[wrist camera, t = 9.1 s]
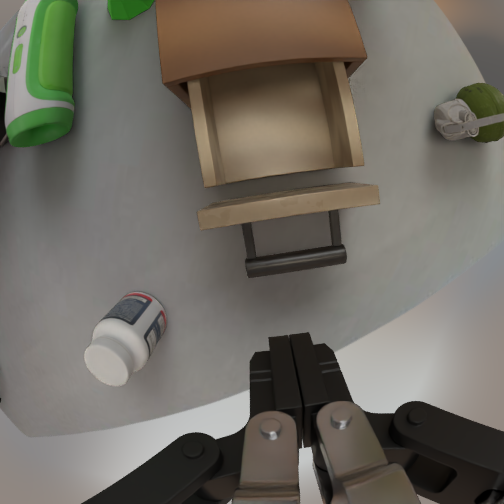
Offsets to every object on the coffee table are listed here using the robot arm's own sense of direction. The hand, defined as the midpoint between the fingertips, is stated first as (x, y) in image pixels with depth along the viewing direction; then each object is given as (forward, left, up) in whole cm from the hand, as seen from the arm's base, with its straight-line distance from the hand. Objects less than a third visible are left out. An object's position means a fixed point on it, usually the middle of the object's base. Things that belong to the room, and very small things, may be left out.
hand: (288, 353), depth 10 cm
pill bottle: (-14, -4, -15) cm, 21 cm away
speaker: (-18, +24, -15) cm, 33 cm away
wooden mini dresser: (+1, +21, -15) cm, 25 cm away
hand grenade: (+26, +12, -11) cm, 30 cm away
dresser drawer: (+1, +8, -14) cm, 16 cm away
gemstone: (-10, +29, -15) cm, 34 cm away
